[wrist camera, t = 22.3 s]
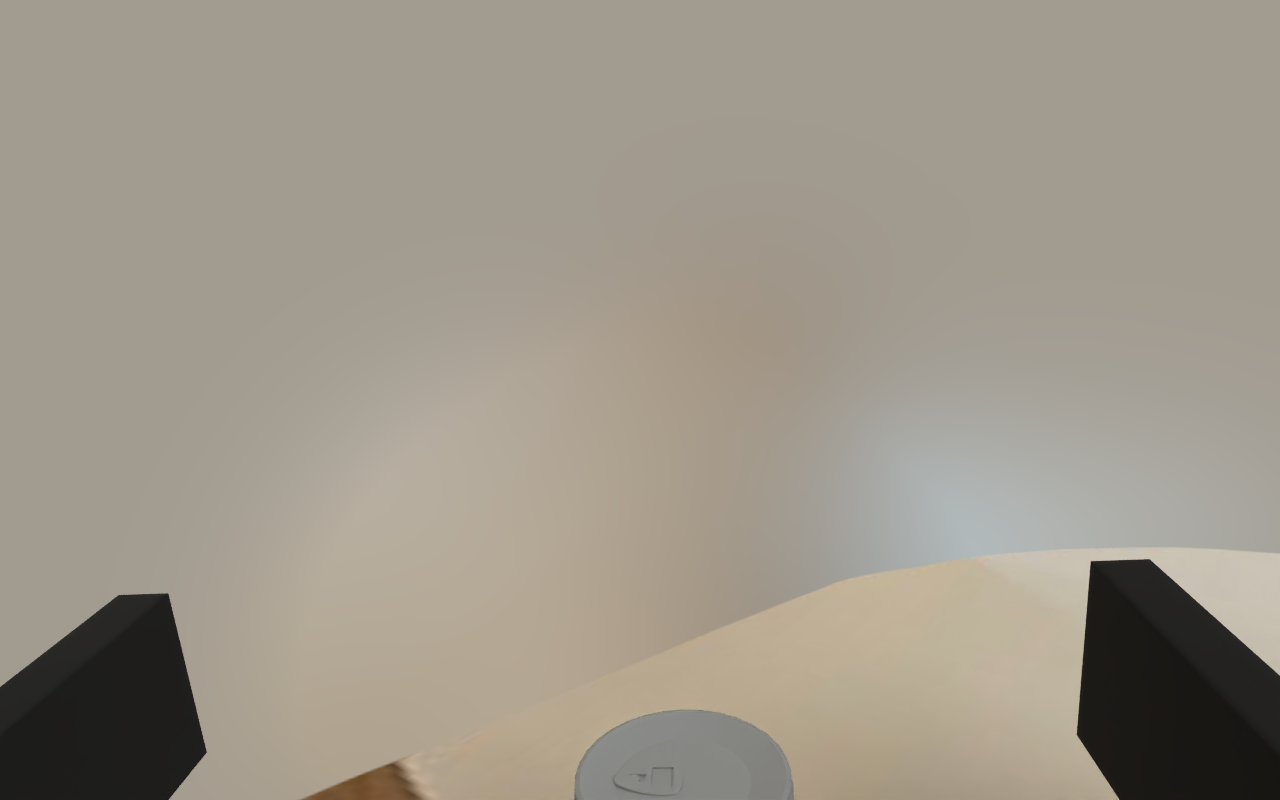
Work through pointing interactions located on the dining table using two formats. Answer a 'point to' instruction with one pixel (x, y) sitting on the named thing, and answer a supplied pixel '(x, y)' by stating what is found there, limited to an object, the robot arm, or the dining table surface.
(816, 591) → the dining table surface
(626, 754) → the canned food
